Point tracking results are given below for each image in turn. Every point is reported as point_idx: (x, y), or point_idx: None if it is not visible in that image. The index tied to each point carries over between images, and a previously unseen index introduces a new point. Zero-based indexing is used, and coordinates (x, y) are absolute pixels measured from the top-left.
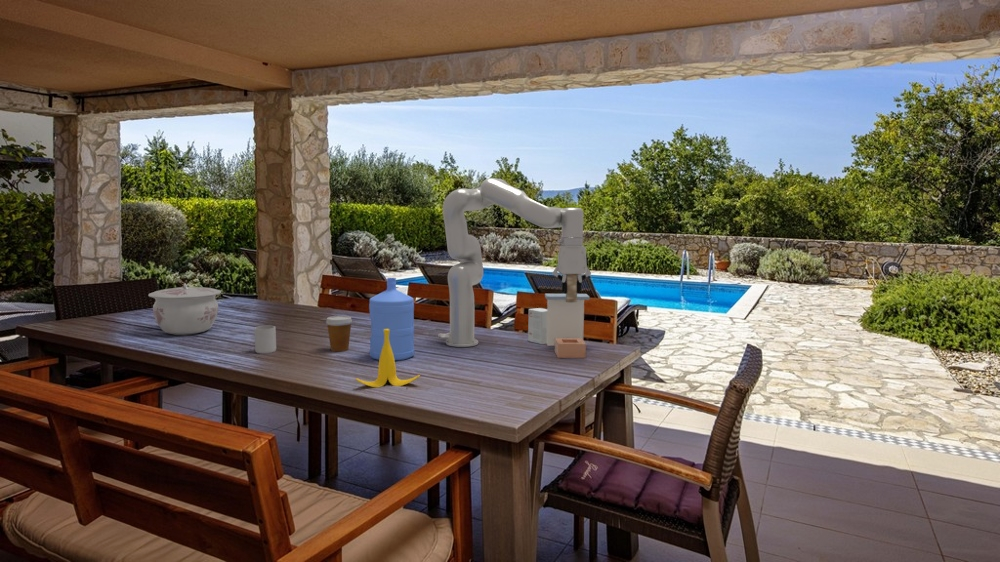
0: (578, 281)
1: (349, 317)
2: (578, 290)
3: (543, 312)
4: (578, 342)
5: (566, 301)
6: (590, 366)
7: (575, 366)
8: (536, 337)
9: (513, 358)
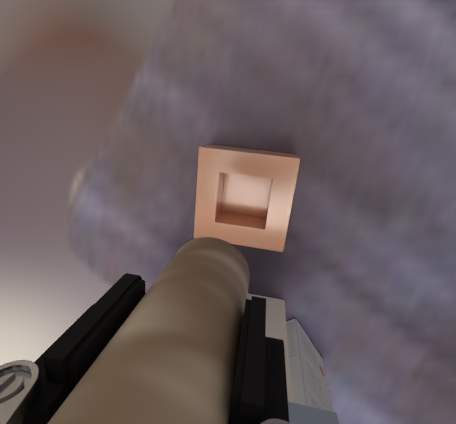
0: (44, 398)
1: None
2: (119, 288)
3: None
4: (218, 175)
5: (247, 268)
6: (221, 22)
7: (270, 24)
8: (308, 345)
9: (450, 158)
